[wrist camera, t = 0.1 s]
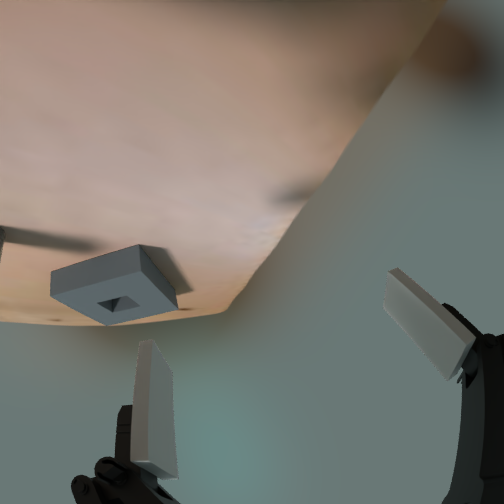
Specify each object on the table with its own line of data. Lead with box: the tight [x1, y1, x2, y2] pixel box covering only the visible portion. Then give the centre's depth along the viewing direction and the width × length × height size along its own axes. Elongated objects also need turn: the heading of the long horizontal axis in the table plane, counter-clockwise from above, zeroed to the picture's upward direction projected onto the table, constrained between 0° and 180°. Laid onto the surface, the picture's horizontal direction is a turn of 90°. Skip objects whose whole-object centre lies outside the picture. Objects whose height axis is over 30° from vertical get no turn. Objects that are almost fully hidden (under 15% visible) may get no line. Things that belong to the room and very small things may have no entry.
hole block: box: [50, 245, 178, 326], centre depth 36 cm, size 16×14×4 cm
